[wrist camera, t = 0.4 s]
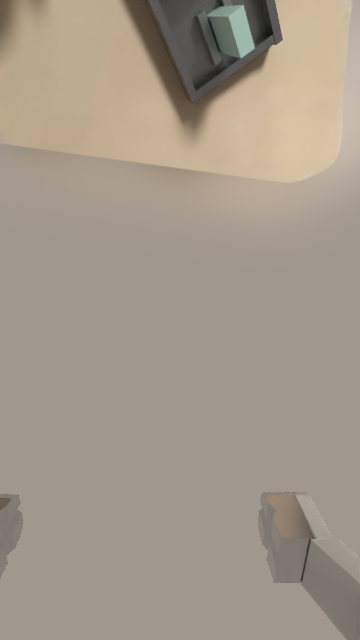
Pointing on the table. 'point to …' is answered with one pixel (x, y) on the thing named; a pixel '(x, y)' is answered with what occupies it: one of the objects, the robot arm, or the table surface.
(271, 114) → the table surface
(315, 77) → the table surface
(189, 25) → the tray
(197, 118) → the table surface
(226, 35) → the sage board
